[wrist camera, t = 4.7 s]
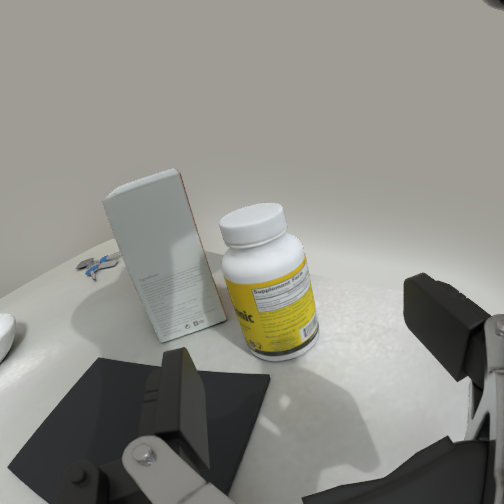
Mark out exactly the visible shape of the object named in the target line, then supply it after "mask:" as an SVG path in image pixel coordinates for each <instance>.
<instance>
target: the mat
mask: <svg viewBox="0 0 504 504" xmlns="http://www.w3.org/2000/svg"><path fill="white" fill-rule="evenodd" d="M156 368H161V367H159V366H151V365H144V364H136V363H130V362H123V361H117V360H111V359H105V358H98V359H97V360H96V361H95V362H94V363H93V364H92V365H91V366H90V368H89V369H88V370H87V371H86V372H85V373H84V375H83V376H82V377H81V378H80V379H79V380H78V381H77V383H76V384H75V385H74V386H73V387H72V388H71V390H70V391H69V392H68V393H67V394H66V395H65V397H64V398H63V399H62V400H61V401H60V403H59V404H58V405H57V406H56V407H55V409H54V410H53V411H52V412H51V413H50V415H49V416H48V417H47V418H46V419H45V421H44V422H43V423H42V424H41V425H40V427H39V428H38V429H37V430H36V432H35V433H34V434H33V435H32V436H31V438H30V439H29V440H28V441H27V443H26V444H25V445H24V446H23V448H22V449H21V450H20V451H19V453H18V454H17V455H16V457H15V458H14V459H13V460H12V462H11V463H10V464H9V465H8V467H7V468H8V469H9V470H10V471H12V472H13V473H14V474H15V475H16V476H17V477H18V478H19V479H20V480H21V481H22V482H24V483H25V484H26V485H27V486H28V487H29V488H31V489H32V490H33V491H34V492H35V493H37V494H38V495H39V496H40V497H41V498H43V499H44V500H45V501H47V502H48V503H49V504H56V503H57V497H58V491H59V486H60V480H61V476H62V473H63V471H64V469H65V468H66V467H67V465H69V464H70V463H71V462H73V461H75V460H77V459H89V460H91V461H93V462H94V463H95V464H96V465H97V466H101V465H104V464H107V463H110V462H113V461H116V460H118V459H120V458H122V456H123V452H124V450H125V449H126V447H127V446H128V445H129V444H130V443H131V442H132V441H134V440H135V439H137V438H138V432H139V425H140V418H141V411H142V404H143V403H144V402H143V398H144V394H145V386H146V380H147V379H148V377H149V375H150V374H151V372H152V371H153V369H156ZM197 371H198V370H197ZM198 373H199V375H200V378H201V380H202V383H203V386H204V390H205V401H206V420H207V437H208V452H209V466H210V470H207V471H201V472H199V475H200V476H201V477H202V478H203V479H204V480H206V481H209V482H210V483H211V484H213V485H214V486H215V487H216V488H218V489H219V490H220V491H221V492H222V493H224V494H225V495H226V496H227V494H228V492H229V489H230V487H231V484H232V482H233V479H234V477H235V474H236V472H237V469H238V466H239V464H240V461H241V459H242V456H243V453H244V451H245V448H246V445H247V443H248V440H249V437H250V435H251V432H252V429H253V427H254V424H255V421H256V418H257V415H258V413H259V410H260V407H261V404H262V401H263V399H264V396H265V393H266V390H267V387H268V384H269V381H270V375H269V374H243V373H225V372H210V371H198Z"/></svg>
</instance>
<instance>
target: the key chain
mask: <svg viewBox="0 0 504 504" xmlns="http://www.w3.org/2000/svg"><path fill="white" fill-rule="evenodd" d="M118 254H121V252H120V251H119V252H117V253H114V254H112V255H110V256H108V255H107V256H105V257H103V258H102V259H100V261H95V262H92V261H93V259H94V258H90V259H88V260H85V261H82V262H80V264H79V265H78V266H77V267H76V269H79V268H82V267H85V266H87V267H88V268H89V270H88V271H87V272H86V273H85V274H86V275H87V274H89V273H91V276H92V278H93V279H95V274H94V270H95V269H100V268H105V267H111V266H115V265H116V263H117V262H118V260H119V259H116V260H111V261H107V260H108V259H110V258H111V257H114V256H115V255H118ZM105 261H106V262H105ZM99 262H100V263H101V264H100V263H99ZM92 265H93V266H92ZM97 265H99V266H97ZM87 267H86V269H87ZM97 267H98V268H97Z"/></svg>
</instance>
